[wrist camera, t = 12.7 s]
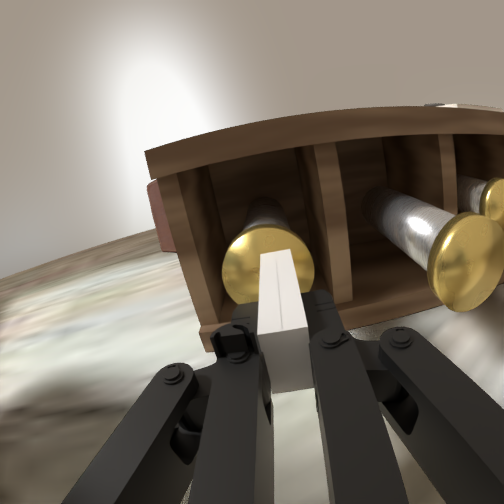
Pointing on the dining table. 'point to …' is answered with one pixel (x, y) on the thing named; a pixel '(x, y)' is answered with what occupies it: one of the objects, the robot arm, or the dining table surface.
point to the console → (323, 197)
